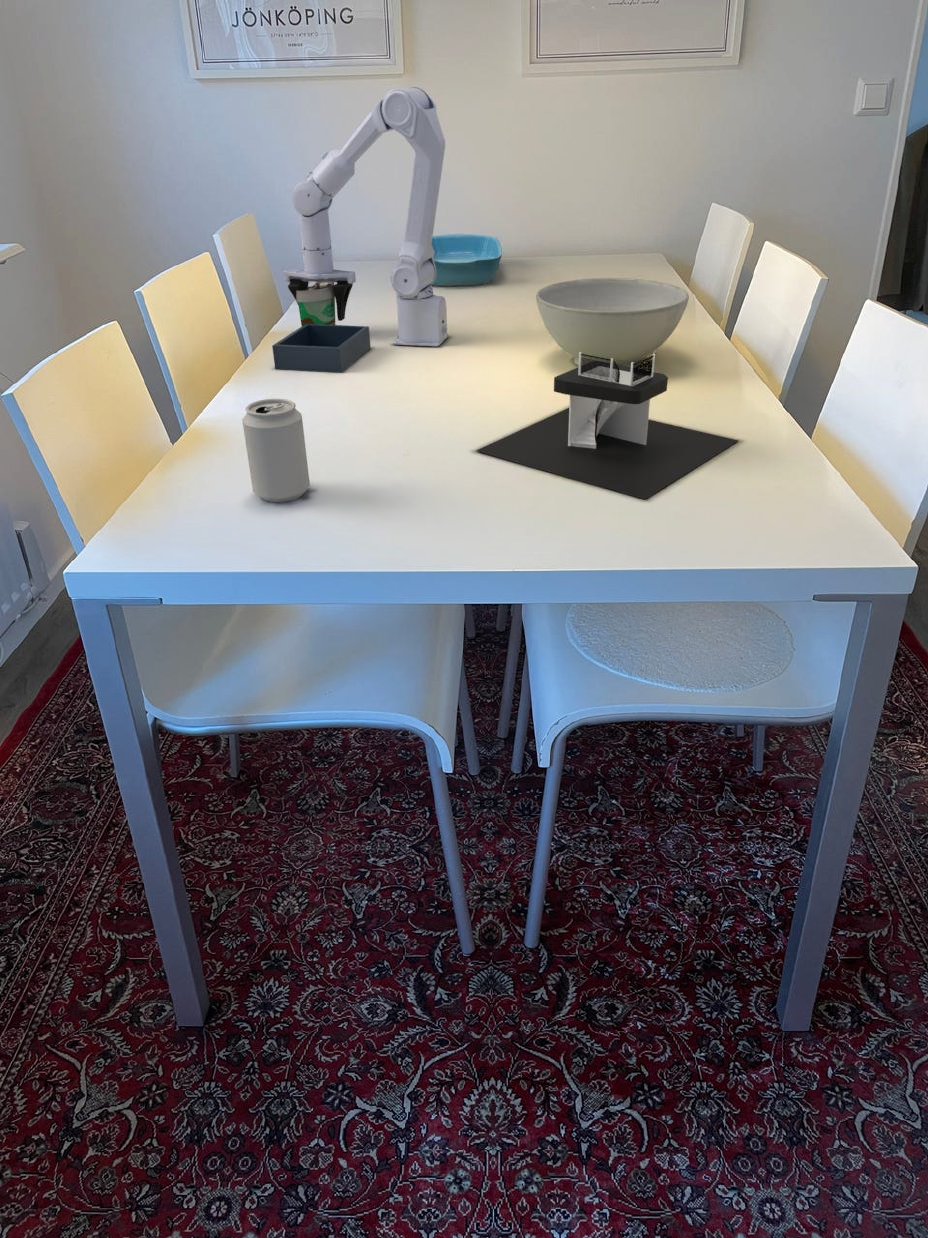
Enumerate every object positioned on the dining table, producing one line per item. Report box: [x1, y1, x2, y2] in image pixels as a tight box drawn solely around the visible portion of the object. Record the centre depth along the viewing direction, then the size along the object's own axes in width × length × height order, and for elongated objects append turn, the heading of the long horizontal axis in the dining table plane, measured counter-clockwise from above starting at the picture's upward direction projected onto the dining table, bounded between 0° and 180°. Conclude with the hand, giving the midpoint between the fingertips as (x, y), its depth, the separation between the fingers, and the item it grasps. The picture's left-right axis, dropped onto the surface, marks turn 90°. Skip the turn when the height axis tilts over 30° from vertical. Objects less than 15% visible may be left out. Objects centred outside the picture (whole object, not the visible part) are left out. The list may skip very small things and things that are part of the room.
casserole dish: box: [431, 233, 503, 287], centre depth 240 cm, size 37×22×7 cm, turn 0°
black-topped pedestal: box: [475, 352, 739, 500], centre depth 132 cm, size 28×26×13 cm
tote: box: [271, 324, 372, 373], centre depth 177 cm, size 13×16×4 cm
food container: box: [296, 282, 336, 327], centre depth 190 cm, size 12×6×10 cm, turn 168°
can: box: [241, 398, 311, 503], centre depth 121 cm, size 8×8×12 cm
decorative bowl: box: [535, 277, 690, 368], centre depth 169 cm, size 27×27×12 cm
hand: (323, 318), depth 191 cm, fingers open, 7 cm apart
